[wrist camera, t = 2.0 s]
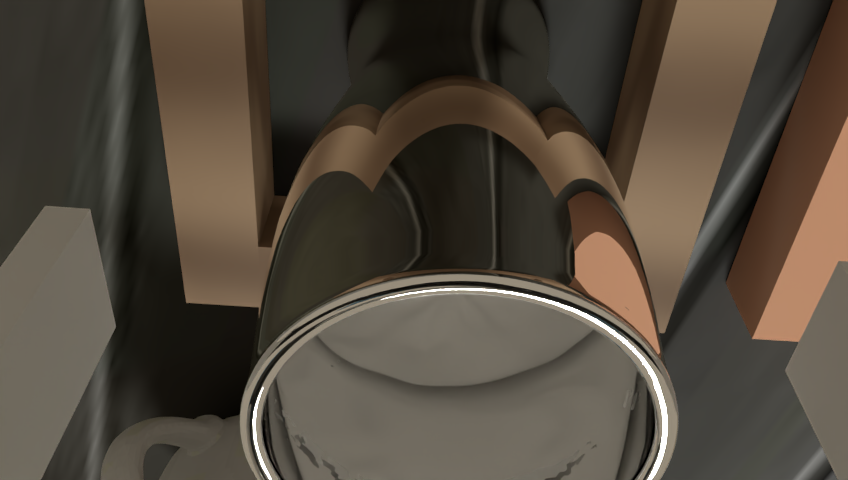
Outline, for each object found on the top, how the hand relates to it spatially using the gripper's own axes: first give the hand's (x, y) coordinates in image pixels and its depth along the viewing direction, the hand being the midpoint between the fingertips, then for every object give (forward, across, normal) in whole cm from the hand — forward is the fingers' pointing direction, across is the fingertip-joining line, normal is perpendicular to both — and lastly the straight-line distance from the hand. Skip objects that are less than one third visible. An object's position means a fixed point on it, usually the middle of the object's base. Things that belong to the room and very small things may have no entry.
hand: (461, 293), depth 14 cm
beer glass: (+12, 0, 0) cm, 12 cm away
